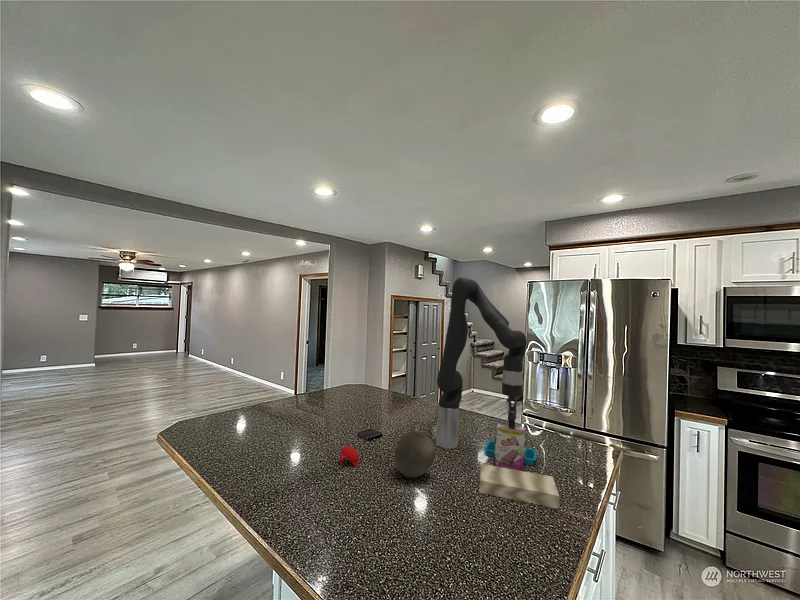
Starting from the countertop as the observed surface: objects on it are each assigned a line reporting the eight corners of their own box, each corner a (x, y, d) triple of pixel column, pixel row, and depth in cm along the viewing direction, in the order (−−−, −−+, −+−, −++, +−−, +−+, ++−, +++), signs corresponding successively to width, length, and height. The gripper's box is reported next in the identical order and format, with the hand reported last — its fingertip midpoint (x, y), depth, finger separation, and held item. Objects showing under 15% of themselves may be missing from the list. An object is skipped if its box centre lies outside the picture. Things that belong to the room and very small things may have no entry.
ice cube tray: (535, 468, 129) (535, 460, 129) (483, 456, 137) (484, 449, 137) (536, 457, 139) (536, 450, 139) (488, 446, 148) (488, 440, 148)
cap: (334, 456, 121) (344, 451, 119) (342, 445, 127) (352, 440, 124) (346, 473, 122) (357, 469, 119) (353, 461, 127) (364, 457, 124)
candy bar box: (493, 470, 124) (495, 427, 124) (494, 465, 128) (495, 423, 129) (525, 477, 120) (526, 432, 121) (524, 471, 125) (526, 427, 125)
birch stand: (479, 492, 107) (479, 480, 108) (481, 474, 120) (481, 463, 120) (558, 509, 100) (559, 495, 101) (552, 488, 113) (552, 476, 113)
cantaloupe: (405, 489, 107) (408, 442, 108) (387, 469, 120) (389, 428, 120) (441, 481, 113) (443, 437, 114) (420, 463, 126) (422, 424, 127)
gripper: (502, 378, 134) (500, 418, 133) (502, 384, 120) (501, 429, 119) (521, 380, 131) (520, 420, 131) (524, 386, 118) (522, 432, 117)
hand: (511, 424), depth 125 cm, fingers open, 8 cm apart
